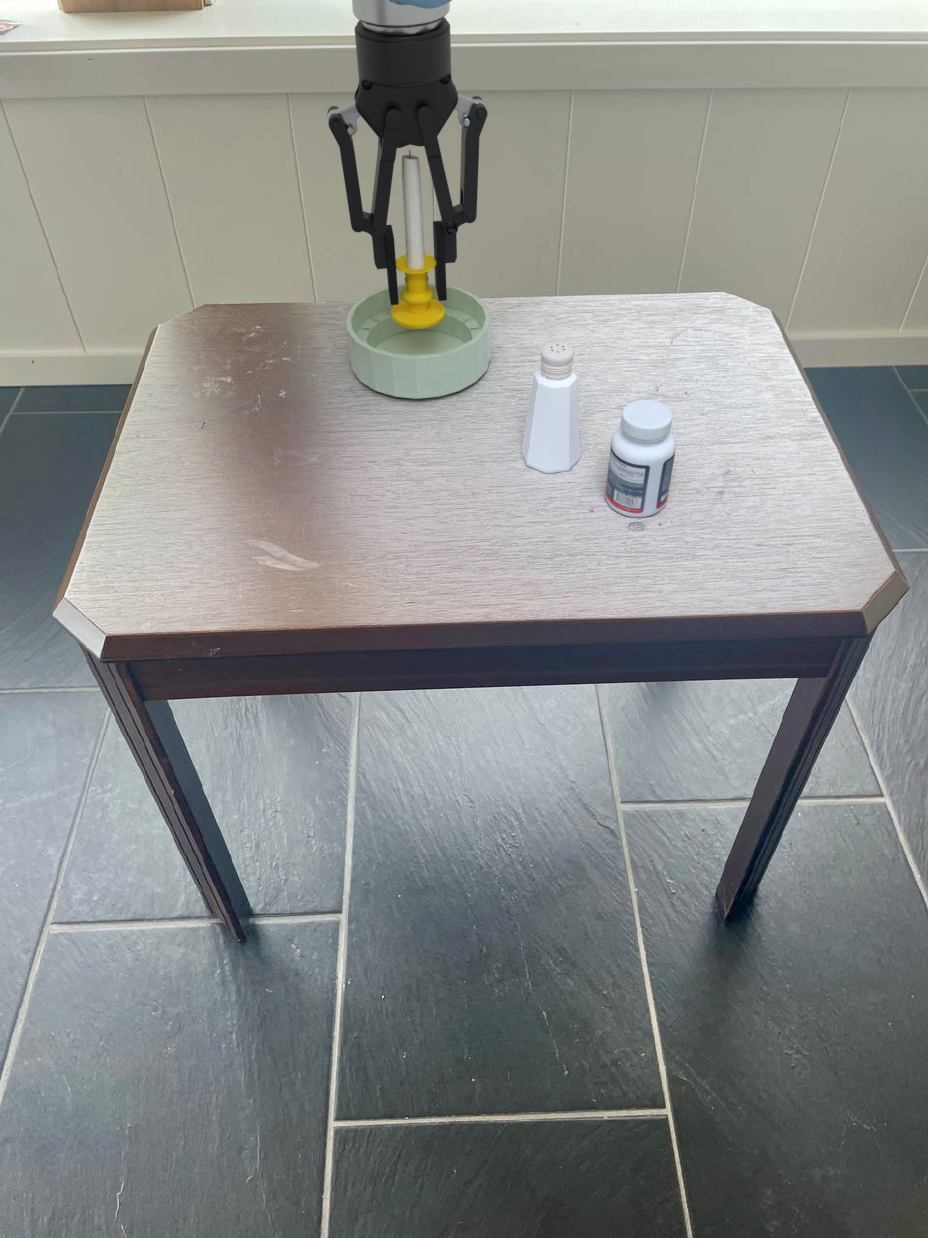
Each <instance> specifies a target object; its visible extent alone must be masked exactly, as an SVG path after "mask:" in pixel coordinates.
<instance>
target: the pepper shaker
mask: <svg viewBox="0 0 928 1238" xmlns="http://www.w3.org/2000/svg"><path fill="white" fill-rule="evenodd" d="M539 353H540V368H539V369H538V370H536V371H535V373H533V378H532V382H531V387H530V394H529V401H528V407H527V413H526V419H525V426H524V431H523V432H524V433H523V439H522V444H521V450H520V451H521V454H522V457H523V459H524V462H525V465H526V466H527V467H529V468H531V469H534V470H536V471H539V472H541V473H544V474H546V475H549V474H555V473H556V474H557V473H563V472H569V471H570V470H571V469H572V468H573V467H574V466H575V465H576V463H578V461H579V460H580V459H581V458H582V456H581V455H582V454H581V453H582V451H581V448H582V447H581V423H580V422H581V421H580V420H581V419H580V393H579V378H578V375H577V374H576V372H575V369H574V368H573V366H574V356H575V349H574V347H573V346H572V345H571V344H570V343H568V342H565V341H561V340H553V341H549V342H546V343H544V344H543V345H542V346H541V348H540V351H539Z"/></svg>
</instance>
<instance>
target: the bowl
mask: <svg viewBox="0 0 928 1238" xmlns="http://www.w3.org/2000/svg"><path fill="white" fill-rule="evenodd" d="M397 286H398V300H399V302H400V301H401V300H402V298H401V290H402V289H403V288H404V287H406V284H405V282H404V283H403V282H402V283H397ZM428 286H430V287H432V289H433V290H434V297H433V299H435V300H437V301H439V299H438V295H437V291H436V285H435V282H429V281H428ZM446 292H447V300H445V301H439V302H440V303H442V304H443V306H444V307H445V316H444V319H443V320H442V321H441V322H440V323H438V324H437V325H435V326H432V327H429V328H424V329H411V328H406V327H403V326H400V325H398V324H397V323H396V322H395V321H394V320H393V318H392V308H393V306H394V305H391V303H390V297H389V291H388V286H385V287H381V288H379V289H376V290H375V291H373V292H370V293H368V294H366V295H364V296H362V297H361V298H360V299H359V300H358V301H357V302H356V303H354V304H353V305H352V306H351V307H350V310H349V312H348V313H347V316H346V318H345V323H346V332H347V340H348V348H349V349H348V350H349V357H350V358H349V359H350V367H351V371H352V373H354V375H355V376H356V378H357V379H358V380H359V381H360V382H361V383H362V384H363V385H365V386H367V387H368V388H370V389H371V390H373V391H375V392H378V393H381V394H385V395H388V396H392V397H394V398H405V399H417V400H418V399H430V398H440V397H444V396H446V395H451V394H454V393H457V392H460V391H462V390H464V389H466V388H468V387H469V386H471V385H473V384H474V383H476V382H478V381H479V379H481V377H482V376H483V375H484V374H485V373H486V372H487V371H488V368H489V365H490V362H491V346H492V345H491V343H492V342H491V339H492V338H491V336H492V335H491V333H492V331H491V330H492V329H491V328H492V327H491V326H492V317H491V314H490V311H489V307H488V305H487V304H486V303H485V302H483V300H482V299H481V298H480V297H479V296H478V295H476V294H474V293H472V292H470V291H469V290H467V289H464V288H462V287H459V286H455V285H451V284H448V283H446Z"/></svg>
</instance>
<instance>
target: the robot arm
mask: <svg viewBox="0 0 928 1238" xmlns="http://www.w3.org/2000/svg"><path fill="white" fill-rule="evenodd" d="M452 1H453V0H351V6H352V7H351V8H352V14H353V16H354V17H355V18H356V19H357V20H358V21H357V23H356V25H355V26H354V38H355V51H356V61H357V63H356V64H357V72H358V85H357V88H356V90H355V92H354V99H353V100H352V101H350V102H348V103H346V104H344V105H343V106H340V107H339V106H337V105H331V106H330V107H329V108H328V109H327V113H326V115H327V122H328V128H329V130H330V132H331V134H332V136H333V137H334V140H335V141H336V143H337V145H338V148H339V153H340V154H339V155H340V160H341V167H342V173H343V180H344V186H345V187H344V188H345V193H346V194H345V195H346V200H347V201H346V202H347V205H348V206H347V207H348V214H349V221H350V227H351V229H352V231H353V232H354V233H362V232H364V233H366V234H368V235H369V236H371V243H372V255H373V262H374V266H375V267H376V270H385V269H386V277H387V287H388V291H389V297H390V303H391V305H399V300H398V286H397V284H398V272H397V268H396V260H397V258H396V247H395V236H394V230H393V226H392V224H387V223H388V217H389V216H388V215H389V209H390V208H389V207H390V199H391V191H392V184H393V183H392V182H393V175H394V168H395V161H396V157H397V150H398V149H402V148H404V147H407V146H415V147H424V152H425V155H426V160H427V165H428V168H429V173H430V177H431V181H432V185H433V190H434V194H435V198H436V202H437V206H438V209H439V215H440V220H432V232H433V233H432V234H433V257H434V258H435V260H436V266H435V267H434V281H435V282H434V283H435V285H436V291H437V295H438V299H439V301H445V300H447V292H446V284H447V267H446V266H447V265H446V264H453V263H454V264H455V263H456V261H457V259H458V249H457V248H458V247H457V246H458V245H457V241H458V238H457V236H458V235H457V233H458V231H459V228H460V226H462V225H464V224H472V223H474V222H475V221H476V220H477V217H478V216H477V214H478V188H479V185H478V184H479V164H480V163H479V162H480V161H479V160H480V137H481V133H482V132H483V128H484V127H485V124H486V121H487V118H488V114H489V113H488V110H487V107H486V105H485V102H484V100H483V98H482V97H481V96H479V95H474V96H472V97H469V96H467V95H464V94H461V93H459V92H458V90H457V87H456V85H455V83H454V82H453V78H452V47H451V45H452V44H451V43H452V42H451V24H450V22H449V21H448V20H447V18H446V16H447V15H448V14H449V12H450V10H451V2H452ZM454 110H456V111H457V120H458V123H459V125H460V126H461V130H460V131H461V135H460V136H461V137H460V172H459V173H460V175H459V177H460V178H459V203H458V204H455V205H453V200H452V196H451V192H450V188H449V183H448V179H447V175H446V169H445V165H444V161H443V157H442V152H441V147H440V143H439V139H438V136H439V134H441V131H442V130H443V128H444V127H445V125H446V123H447V122H448V120H449V118H450V117H451V115H452V114H453V112H454ZM359 117H361V118H362V119H363V120H364V122H365V123H366V124H367V125H368V127H369V128H370V129H371V130H372V131H373V133H374V134H375V135H376V136H377V137H378V138H377V153H376V163H375V170H374V171H375V173H374V182H373V190H372V198H371V199H372V200H371V207H370V212H367V211H364V208H363V202H362V195H361V194H362V193H361V188H360V187H361V186H360V179H359V174H358V165H357V159H356V151H355V145H354V139H353V136H354V135H356V133H357V131H358V125H357V120H358V119H359Z"/></svg>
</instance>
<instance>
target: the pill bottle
mask: <svg viewBox="0 0 928 1238" xmlns="http://www.w3.org/2000/svg"><path fill="white" fill-rule="evenodd" d="M620 418H621V419H620V426H619V427H618V428H616V429H615V431H614V432H613V434H612V437H611V441H610V449H609V455H608V456H609V458H608V466H607V474H606V475H607V477H606V484H605V499H606V502H607V504H608V505H609V506H610V508H611V509H613V510H614V511H616V513H619V514H621V515H623V516H625V517H631V518H645V517H650V516H653V515H656V514H657V513H659V512H660V511H662V510H663V509H664V508H665V507H666V504H667V501H668V498H669V497H668V496H669V491H670V486H671V481H672V480H671V479H672V474H673V468H674V462H675V455H676V448H677V441H676V438H675V437H676V436H675V435H674V433H673V432H672V430H671V429H672V425H673V412H672V410H671V408H670V407H668V406H667V405H666V404H665V403H663V402H660V401H658V400H655V399H654V400H653V399H637V400H634V401H633V400H632V401H630V402H629V403H627V404H626V405H625V406H624V407H623V409H622V411H621V417H620Z"/></svg>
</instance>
